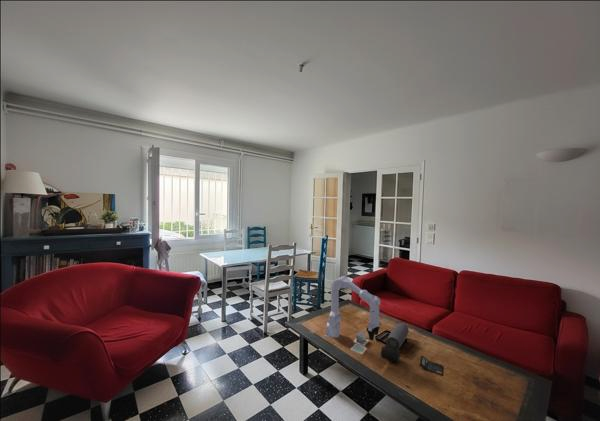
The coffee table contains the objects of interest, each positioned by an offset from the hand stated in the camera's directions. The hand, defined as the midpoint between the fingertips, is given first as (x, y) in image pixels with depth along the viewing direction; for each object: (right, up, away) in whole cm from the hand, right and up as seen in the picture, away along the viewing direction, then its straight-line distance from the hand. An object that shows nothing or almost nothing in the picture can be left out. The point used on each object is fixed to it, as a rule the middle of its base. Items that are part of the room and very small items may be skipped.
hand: (373, 337), depth 156 cm
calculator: (+30, -12, -12) cm, 35 cm away
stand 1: (-5, -9, +10) cm, 15 cm away
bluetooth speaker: (+20, -10, +11) cm, 25 cm away
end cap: (+9, -11, -6) cm, 15 cm away
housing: (-5, -8, +10) cm, 14 cm away
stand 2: (-9, -10, +2) cm, 14 cm away
